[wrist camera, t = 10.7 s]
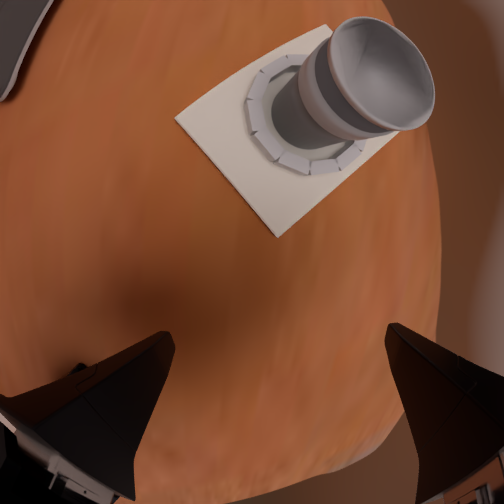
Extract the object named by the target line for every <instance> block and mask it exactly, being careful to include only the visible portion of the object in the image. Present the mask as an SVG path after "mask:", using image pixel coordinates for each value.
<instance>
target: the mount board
mask: <svg viewBox="0 0 504 504" xmlns="http://www.w3.org/2000/svg"><path fill="white" fill-rule="evenodd" d="M332 33H333V31H332V30H331V29H330V28H329V27H328V26H327V25H326V24H325V25H322V26H320V27H318V28H316V29H314V30H311V31H309V32H307V33H305V34H303V35H301V36H299V37H297V38H295V39H293V40H291V41H289V42H287V43H286V44H284V45H282V46H280V47H278V48H276V49H275V50H273V51H271V52H269V53H268V54H266V55H264V56H262V57H261V58H259V59H257V60H256V61H254V62H252V63H251V64H249V65H247V66H246V67H244V68H243V69H241V70H240V71H238V72H236V73H235V74H233V75H232V76H230V77H229V78H227V79H226V80H224V81H223V82H221V83H220V84H219V85H217V86H216V87H214V88H213V89H211V90H210V91H209V92H207V93H206V94H205V95H203V96H202V97H200V98H199V99H198V100H196V101H195V102H194V103H193V104H191V105H190V106H189V107H187V108H186V109H185V110H184V111H182V112H181V113H180V114H178V115H177V116H176V117H175V120H176V121H177V122H178V124H179V125H180V126H181V127H182V128H183V129H184V130H185V131H186V132H187V134H188V135H189V136H190V137H191V138H192V139H193V140H194V142H195V143H196V144H197V145H198V146H199V147H200V148H201V149H202V151H203V152H204V153H205V154H206V155H207V156H208V157H209V159H210V160H211V161H212V162H213V163H214V164H215V166H216V167H217V168H218V169H219V170H220V171H221V172H222V174H223V175H224V176H225V177H226V178H227V179H228V181H229V182H230V183H231V184H232V185H233V186H234V188H235V189H236V190H237V191H238V192H239V194H240V195H241V196H242V197H243V198H244V199H245V201H246V202H247V203H248V204H249V205H250V207H251V208H252V209H253V210H254V211H255V212H256V214H257V215H258V216H259V217H260V218H261V220H262V221H263V222H264V223H265V224H266V226H267V227H268V228H269V229H270V231H271V232H272V233H273V234H274V235H275V236H276V237H277V238H278V237H280V236H281V235H282V234H283V233H284V232H285V231H286V230H288V229H289V228H290V227H291V226H292V225H293V224H295V223H296V222H297V221H298V220H299V219H300V218H301V217H303V216H304V215H305V214H306V213H307V212H308V211H310V210H311V209H312V208H313V207H314V206H315V205H316V204H318V203H319V202H320V201H321V200H322V199H323V198H324V197H326V196H327V195H328V194H329V193H330V192H331V191H333V190H334V189H335V188H336V187H337V186H338V185H339V184H341V183H342V182H343V181H344V180H345V179H346V178H347V177H349V176H350V175H351V174H352V173H353V172H354V171H355V170H357V169H358V168H359V167H360V166H361V165H362V164H363V163H365V162H366V161H367V160H368V159H369V158H370V157H371V156H372V155H374V154H375V153H376V152H377V151H378V150H379V149H380V148H382V147H383V146H384V145H385V144H386V143H387V142H388V141H390V140H391V139H392V138H393V137H394V136H395V135H396V134H397V133H399V132H400V131H394V132H392V133H390V134H388V135H384V136H379V137H374V138H369V139H364V140H357V141H354V140H349V141H345V142H341V143H337V144H333V145H329V146H325V147H322V148H318V149H313V150H306V149H300V148H297V147H295V146H293V145H291V144H289V143H288V142H286V141H285V140H284V139H283V138H282V137H281V136H280V135H279V134H278V132H277V130H276V129H275V127H274V124H273V121H272V117H271V107H272V103H273V101H274V98H275V97H276V95H277V94H278V93H279V92H280V90H281V89H282V88H283V87H284V86H285V85H286V84H287V83H288V81H289V80H290V79H291V78H292V77H293V76H294V75H295V74H296V73H297V72H298V71H299V69H300V68H301V66H302V64H303V62H304V61H305V59H306V58H307V57H308V56H309V55H310V54H311V53H312V52H313V51H314V50H315V49H316V47H317V46H318V45H319V44H320V43H321V42H322V41H324V40H325V39H326V38H328V37H330V36H331V35H332Z"/></svg>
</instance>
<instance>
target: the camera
mask: <svg viewBox="0 0 504 504" xmlns="http://www.w3.org/2000/svg"><path fill="white" fill-rule="evenodd" d="M53 1H54V0H0V102H1V101H3V100H4V99H5V98H6V96H7V95H8V93H9V92H10V90H11V89H12V87H13V86H14V84H15V81H16V79H17V75H18V70H19V68H20V65H21V63H22V61H23V58H24V56H25V54H26V51H27V49H28V47H29V45H30V43H31V41H32V39H33V37H34V35H35V33H36V31H37V29H38V27H39V25H40V23H41V21H42V20H43V18H44V16H45V14H46V13H47V11H48V9H49V7H50V6H51V4H52V3H53Z"/></svg>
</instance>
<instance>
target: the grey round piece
mask: <svg viewBox="0 0 504 504" xmlns="http://www.w3.org/2000/svg"><path fill="white" fill-rule="evenodd" d="M434 101H435V90H434V83H433V79H432V75H431V72H430V70H429V67H428V65H427V63H426V61H425V59H424V58H423V56H422V54H421V53H420V52H419V50H418V49H417V47H416V46H415V45H414V44H413V42H412V41H410V39H409V38H408V37H407V36H405V35H404V34H403V33H402V32H401V31H399V30H398V29H396V28H395V27H393V26H392V25H390V24H388V23H386V22H384V21H381V20H379V19H376V18H371V17H354V18H351V19H348V20H346V21H345V22H343V23H342V24H341V25H340V26H339V27H338V28H337V29H336V30H335V31H334V32H333V33H332V35H331V36H330V37H328V38H326V39H325V40H324V41H322V42H321V43H320V44H319V45H318V46H317V47H316V49H315V50H314V51H313V52H312V53H311V54H310V55H309V56H308V57H307V58H306V59H305V61H304V62H303V64H302V66H301V68H300V69H299V71H298V72H297V73H296V74H295V75H294V76H293V77H292V78H291V79H290V80H289V81H288V83H287V84H286V85H285V86H284V87H283V88H282V89H281V90H280V92H279V93H278V94H277V95H276V97H275V98H274V101H273V103H272V107H271V117H272V121H273V124H274V127H275V129H276V130H277V132H278V134H279V135H280V136H281V137H282V138H283V139H284V140H285V141H286V142H288V143H289V144H291V145H293V146H295V147H297V148H300V149H306V150H313V149H318V148H322V147H325V146H329V145H333V144H337V143H341V142H345V141H349V140H354V141H357V140H364V139H369V138H374V137H379V136H384V135H388V134H390V133H392V132H394V131H405V130H411V129H415V128H418V127H419V126H421V125H423V124H424V123H425V122H426V121H427V120H428V118H429V117H430V115H431V113H432V110H433V107H434Z"/></svg>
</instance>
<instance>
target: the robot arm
mask: <svg viewBox="0 0 504 504" xmlns="http://www.w3.org/2000/svg"><path fill="white" fill-rule="evenodd" d="M385 347H386V351H387V356H388V360H389V364H390V369H391V372H392V375H393V378H394V381H395V384H396V386H397V389H398V392H399V395H400V398H401V401H402V404H403V407H404V410H405V413H406V416H407V419H408V423H409V426H410V429H411V433H412V436H413V439H414V443H415V446H416V450H417V453H418V458H419V475H418V485H417V493H416V501H415V504H425V503H428V502H431V501H434V500H437V499H439V498H442V497H443V499H444V504H504V377H503V376H501V375H499V374H496V373H494V372H491V371H489V370H487V369H485V368H483V367H480V366H478V365H476V364H474V363H472V362H470V361H468V360H466V359H464V358H462V357H461V356H457V355H456V354H455V353H453V352H451V351H449V350H447V349H445V348H444V347H442V346H440V345H438V344H436V343H434V342H433V341H431V340H429V339H427V338H425V337H423V336H422V335H420V334H418V333H416V332H414V331H412V330H411V329H409V328H407V327H405V326H403V325H401V324H399V323H390V324H389V325H388V327H387V331H386V335H385ZM174 353H175V344H174V341H173V339H172V336H171V334H170V332H168V331H160V332H158V333H156V334H154V335H152V336H150V337H148V338H146V339H144V340H142V341H140V342H138V343H136V344H134V345H133V346H131V347H129V348H127V349H125V350H123V351H121V352H119V353H117V354H115V355H113V356H111V357H109V358H107V359H105V360H103V361H101V362H99V363H98V364H97V363H96V364H94V365H92V366H90V367H88V368H87V367H86V366H85V365H83V364H81V363H79V364H78V365H77V366H76V367H75V368H74V369H73V370H72V371H71V372H70V373H69V374H68V375H67V376H66V377H65V378H62V379H60V380H57V381H54V382H52V383H49V384H47V385H44V386H41V387H39V388H36V389H33V390H31V391H28V392H25V393H23V394H20V395H17V396H14V397H10V398H9V397H5V396H4V395H2V394H0V413H1V414H2V415H3V416H4V417H5V418H6V419H7V420H8V421H9V422H10V423H11V424H12V425H13V426H14V427H15V428H16V431H15V432H14V433H12V432H11V431H10V430H9V429H8V428H7V427H6V426H5V425H4V424H3V423H1V422H0V504H114V502H115V501H116V500H117V499H118V498H119V497H120V496H121V497H124V498H126V499H129V500H132V501H135V498H136V497H135V483H134V457H135V454H136V451H137V449H138V446H139V444H140V441H141V439H142V436H143V434H144V432H145V429H146V427H147V424H148V422H149V419H150V417H151V415H152V412H153V410H154V407H155V405H156V403H157V400H158V398H159V396H160V393H161V391H162V388H163V386H164V384H165V381H166V379H167V376H168V373H169V370H170V367H171V363H172V360H173V356H174ZM81 368H82V369H81Z"/></svg>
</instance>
